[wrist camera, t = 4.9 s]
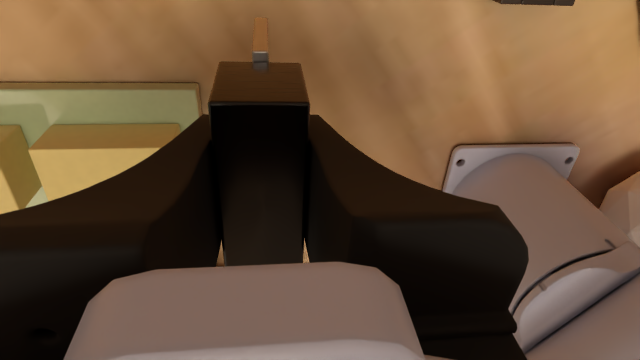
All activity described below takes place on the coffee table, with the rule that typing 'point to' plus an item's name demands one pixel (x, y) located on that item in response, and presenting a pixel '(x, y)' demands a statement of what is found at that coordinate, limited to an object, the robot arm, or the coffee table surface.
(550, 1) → the stand
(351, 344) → the robot arm
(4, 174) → the butter pat
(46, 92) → the butter dish
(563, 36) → the coffee table surface
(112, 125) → the butter stick
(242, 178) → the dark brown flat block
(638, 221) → the geometric ball
